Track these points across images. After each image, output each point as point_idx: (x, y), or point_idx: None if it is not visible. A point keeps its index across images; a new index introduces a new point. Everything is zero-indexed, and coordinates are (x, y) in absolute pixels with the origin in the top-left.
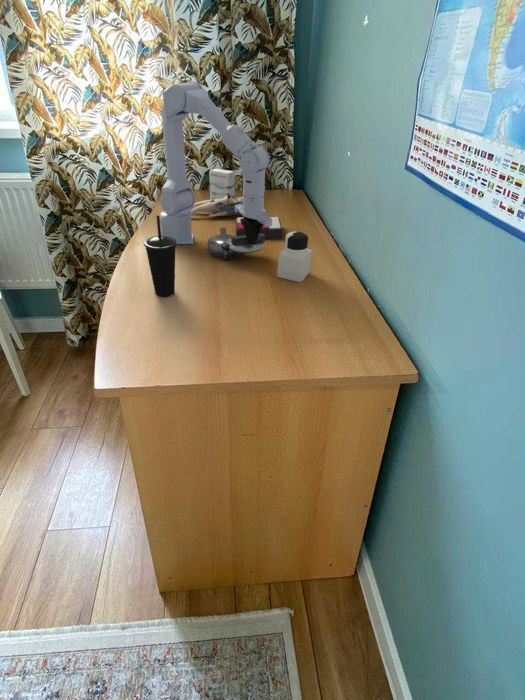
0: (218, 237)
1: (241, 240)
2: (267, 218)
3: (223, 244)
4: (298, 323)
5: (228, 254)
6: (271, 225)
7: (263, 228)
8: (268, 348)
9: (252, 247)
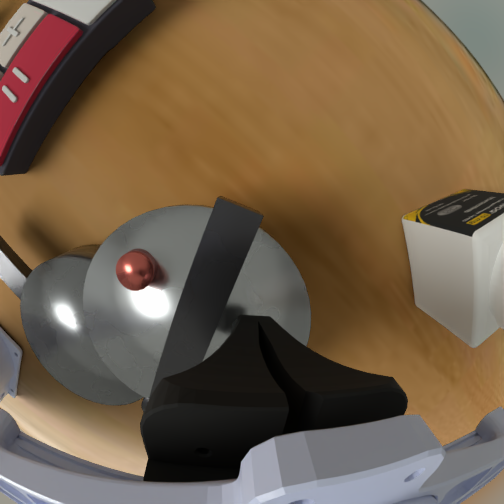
0: (42, 333)
1: None
2: (499, 469)
3: None
4: (493, 378)
5: None
6: (499, 412)
7: (66, 50)
8: (468, 432)
9: None
